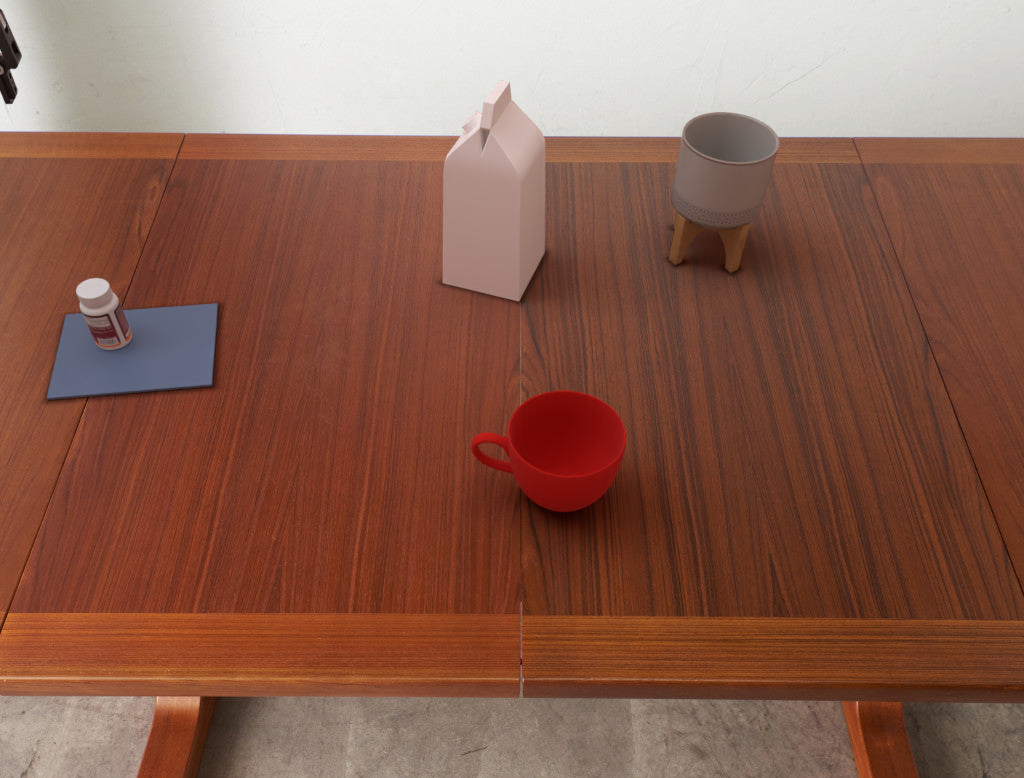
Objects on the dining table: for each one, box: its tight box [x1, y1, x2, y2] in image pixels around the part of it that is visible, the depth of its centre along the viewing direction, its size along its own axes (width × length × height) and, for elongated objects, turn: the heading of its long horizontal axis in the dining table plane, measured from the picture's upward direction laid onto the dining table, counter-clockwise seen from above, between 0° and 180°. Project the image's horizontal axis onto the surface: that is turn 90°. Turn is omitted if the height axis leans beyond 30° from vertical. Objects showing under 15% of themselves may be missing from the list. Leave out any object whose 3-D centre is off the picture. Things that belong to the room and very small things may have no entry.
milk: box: [442, 79, 546, 302], centre depth 120 cm, size 12×12×26 cm
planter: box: [668, 111, 780, 273], centre depth 128 cm, size 13×13×18 cm
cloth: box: [46, 302, 219, 401], centre depth 118 cm, size 20×16×1 cm
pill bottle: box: [75, 277, 132, 350], centre depth 115 cm, size 5×5×8 cm
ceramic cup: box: [470, 389, 627, 513], centre depth 101 cm, size 13×17×10 cm
